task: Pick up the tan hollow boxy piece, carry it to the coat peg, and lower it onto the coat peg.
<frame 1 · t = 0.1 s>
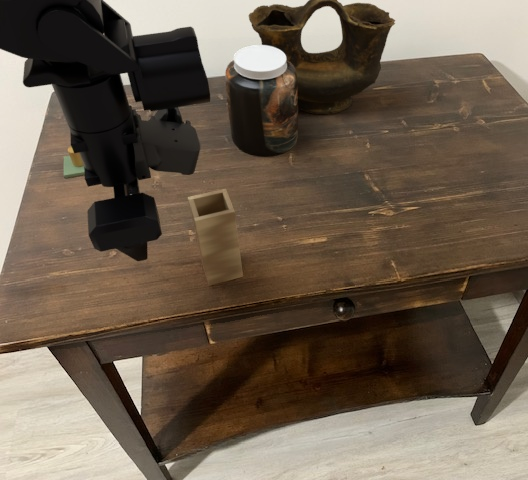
hand: (138, 230, 61), 13 cm above the table, tool pointing down, fingers open, 9 cm apart
pottery vessel: (320, 102, 102), on the table
coat peg: (80, 165, 87), on the table
tan hollow boxy piece: (222, 269, 73), on the table
jar: (264, 136, 94), on the table
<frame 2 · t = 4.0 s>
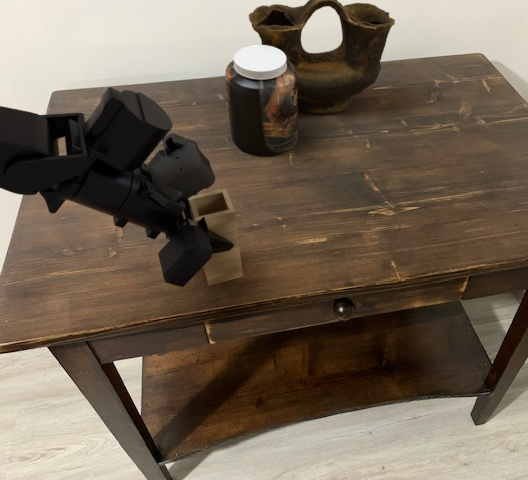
hand: (227, 234, 69), 7 cm above the table, tool tilted 45°, fingers closed on tan hollow boxy piece, 4 cm apart
tan hollow boxy piece: (222, 269, 73), on the table, touching gripper
everything else where it was.
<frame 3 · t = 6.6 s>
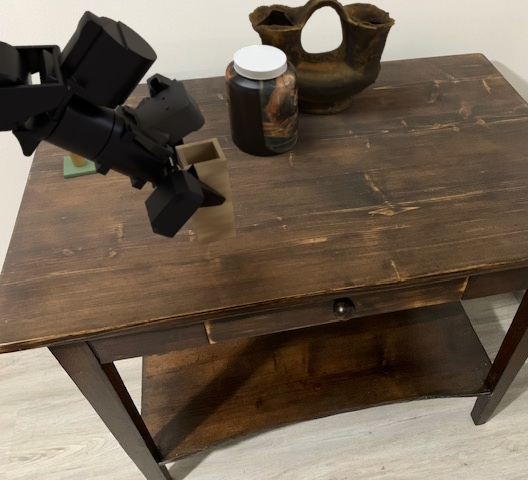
hand: (218, 189, 65), 13 cm above the table, tool tilted 45°, fingers closed on tan hollow boxy piece, 4 cm apart
tan hollow boxy piece: (213, 229, 69), point 7 cm above the table, touching gripper
everything else where it was.
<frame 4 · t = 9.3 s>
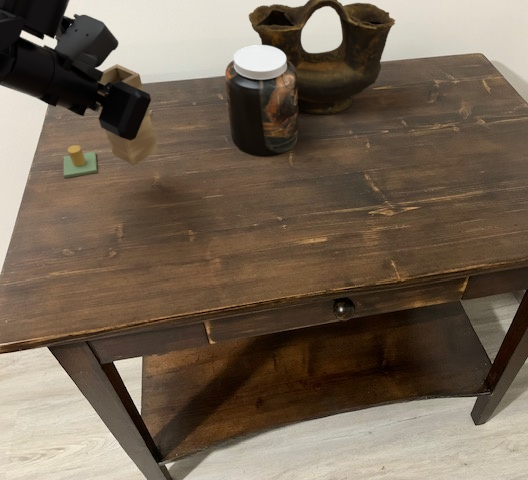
hand: (132, 110, 75), 13 cm above the table, tool tilted 45°, fingers closed on tan hollow boxy piece, 4 cm apart
tan hollow boxy piece: (135, 151, 79), point 7 cm above the table, touching gripper
everything else where it was.
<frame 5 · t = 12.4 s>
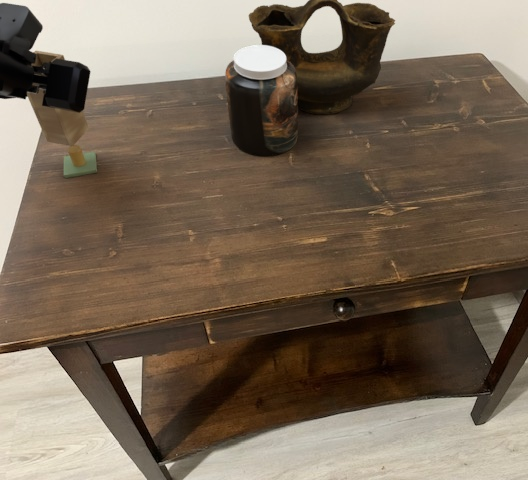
hand: (59, 93, 79), 13 cm above the table, tool tilted 45°, fingers closed on tan hollow boxy piece, 4 cm apart
tan hollow boxy piece: (68, 135, 83), point 6 cm above the table, touching gripper
everything else where it was.
when the fingers open (7 cm above the table, at t = 14.7 s): tan hollow boxy piece stays where it is, resting on coat peg.
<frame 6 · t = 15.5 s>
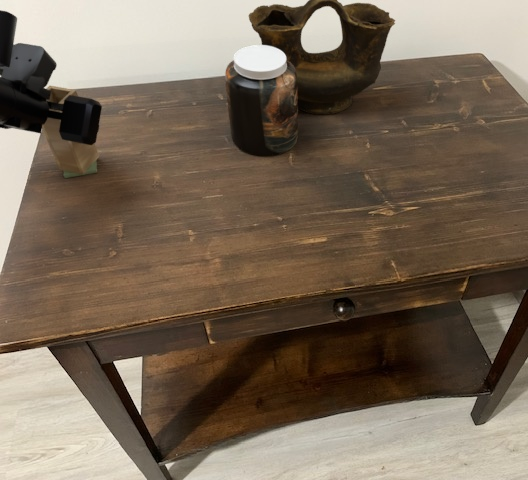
hand: (71, 123, 83), 7 cm above the table, tool tilted 45°, fingers open, 9 cm apart
tan hollow boxy piece: (79, 162, 87), point 1 cm above the table, touching coat peg
everything else where it was.
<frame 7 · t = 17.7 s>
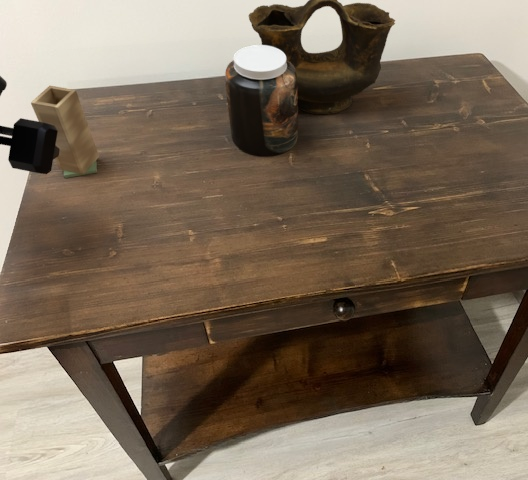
hand: (28, 146, 75), 10 cm above the table, tool tilted 45°, fingers open, 9 cm apart
nothing on the table moved.
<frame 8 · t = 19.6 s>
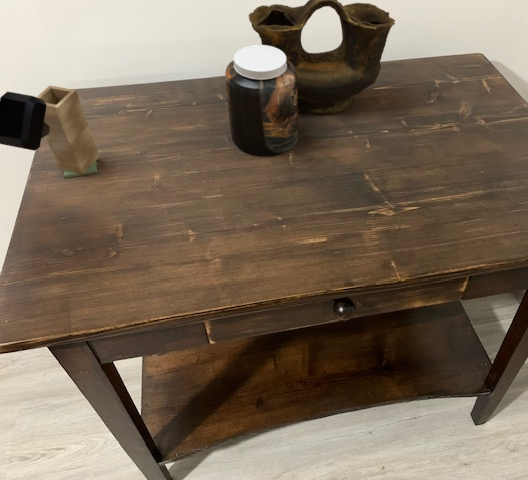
hand: (18, 124, 72), 14 cm above the table, tool tilted 45°, fingers open, 9 cm apart
nothing on the table moved.
at the end: tan hollow boxy piece 0.0 cm off-centre on the coat peg, point 0.6 cm above the coat peg's base; tan hollow boxy piece tilted 0°; the gripper is holding nothing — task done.
